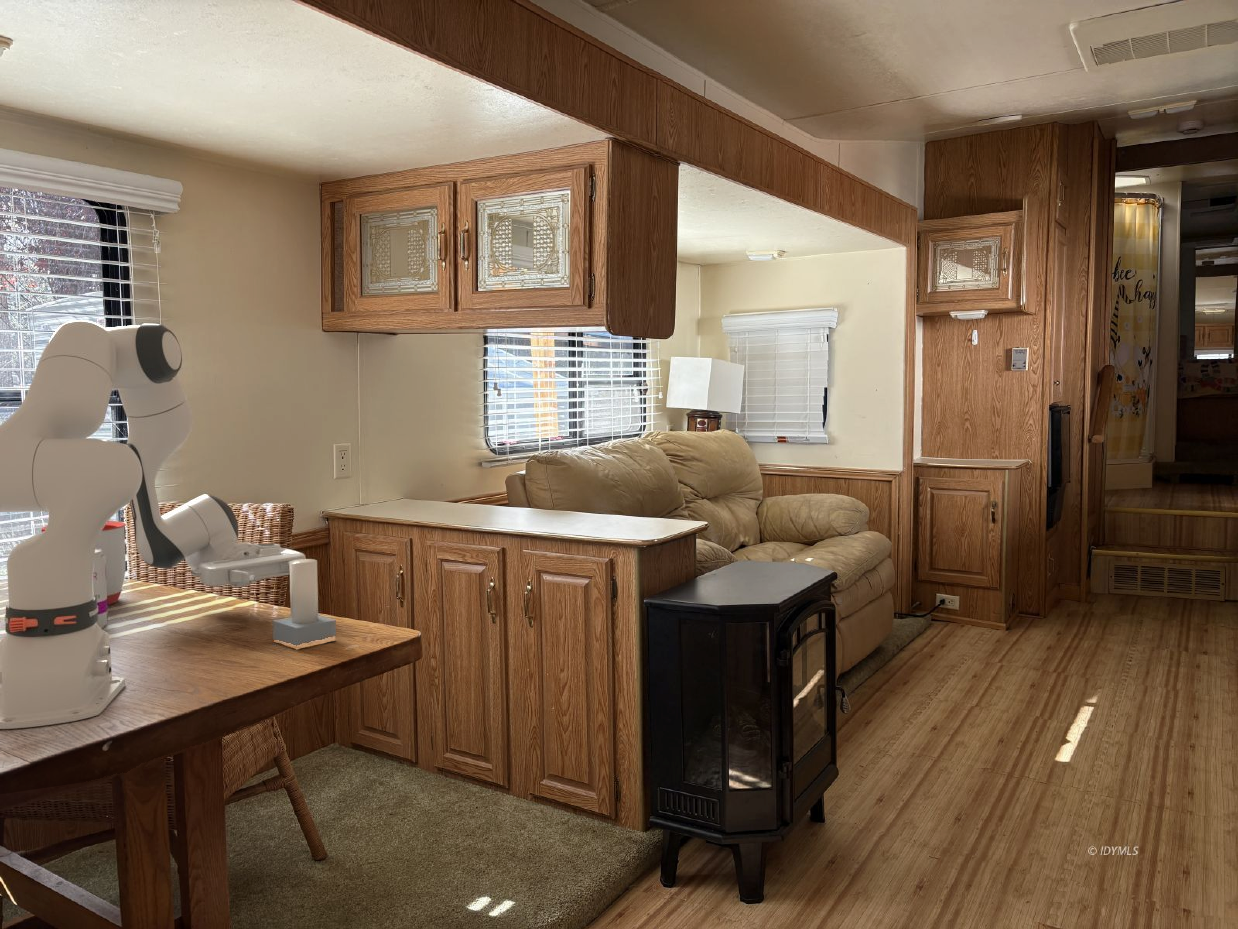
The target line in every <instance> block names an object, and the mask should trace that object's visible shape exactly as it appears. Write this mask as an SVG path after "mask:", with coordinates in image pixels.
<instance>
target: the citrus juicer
mask: <svg viewBox="0 0 1238 929" xmlns="http://www.w3.org/2000/svg"><path fill="white" fill-rule="evenodd" d="M46 527H47V525H46V526H43V527H42V528H41V530H40V531H41V532H43V531H45V529H46ZM125 527H126V523H125V522H122V521H115V520H109V521H108V522H107V523H106V525H105V526H104V528H103V530H102V532H101V533H100V536H99V538H98V541H97V544H96V548H95V549H101V550H102V553H103V555H104V556H105V558H106V583H107V606H108V605H114V604H115V603H116V602H117V601H119V598H120V596H121V594H122V591H123V589H122V588H123V585H124V581H125V576H126V575H125V574H126V563H127V562H126V539H125V537H126V536H125V534H126V533H125ZM113 603H114V604H113Z"/></svg>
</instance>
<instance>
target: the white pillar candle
mask: <svg viewBox="0 0 1238 929" xmlns="http://www.w3.org/2000/svg"><path fill="white" fill-rule="evenodd" d="M289 564H290V575H289V587H290V588H289V596H290V598H289V601H290V603H289V604H290V617H291V622H292V623H297V624H304V623H312V622H315V621H317V620H318V615H319V599H318V598H319V596H318V594H319V592H318V591H319V590H318V589H319V588H318V587H319V586H318V560H316V559H314V558H313V559H312V558H306V559H299V560H293V561H290V562H289Z"/></svg>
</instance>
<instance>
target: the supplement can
mask: <svg viewBox="0 0 1238 929" xmlns="http://www.w3.org/2000/svg"><path fill="white" fill-rule="evenodd" d="M93 590H94V597H95V598H96V599H97V605H98V621H97V622H96V623H97V625H98V626H99V627H100V628H101V629H104V627H105V626H106V625H107V624H108V623H109V620H108V618H109V617H108V616H109V615H108V614H109V613H108V605H107V583H106V558H105V556H104V555H103V553H102V550H101V549H95V554H94V571H93Z"/></svg>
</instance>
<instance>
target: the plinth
mask: <svg viewBox="0 0 1238 929" xmlns="http://www.w3.org/2000/svg"><path fill="white" fill-rule="evenodd" d="M272 632H273V633H272V634H273V635H272V638H273V639H274V640H279V641H283V642H286V643H291V644H293V645H296V646H297V645H300V644H302V643H309V642H311V641H315V640H322V639H325V638H328V637H333V636H336V637H337V620H336V619H333V618H330V617H326V616H323V615H320V614H318V620H317V621H315V622H312V623H304V624H297V623H292V622H291V616H290V617H289V616H288V617H285V618H279V619H274V620H272ZM273 639H272V640H273Z"/></svg>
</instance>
